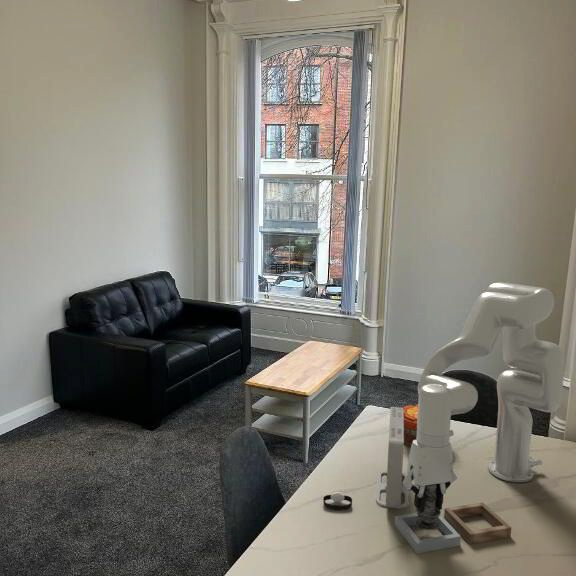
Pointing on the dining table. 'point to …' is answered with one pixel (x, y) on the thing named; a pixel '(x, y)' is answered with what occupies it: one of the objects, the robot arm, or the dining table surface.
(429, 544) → the slate-grey collar
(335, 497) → the watch
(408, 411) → the food container
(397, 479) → the network device
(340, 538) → the dining table surface
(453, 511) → the walnut collar
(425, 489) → the marbled chess piece
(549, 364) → the robot arm
